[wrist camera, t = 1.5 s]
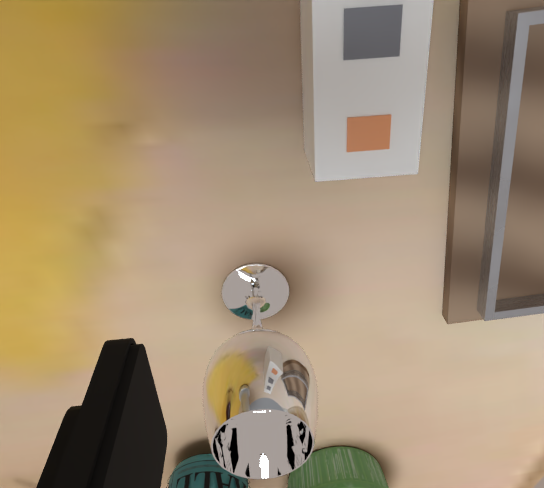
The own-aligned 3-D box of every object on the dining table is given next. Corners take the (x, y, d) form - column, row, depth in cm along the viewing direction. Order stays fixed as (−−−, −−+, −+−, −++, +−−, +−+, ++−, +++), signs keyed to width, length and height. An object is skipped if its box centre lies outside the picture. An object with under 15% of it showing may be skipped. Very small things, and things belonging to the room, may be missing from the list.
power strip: (294, -165, 21) (308, -198, 17) (409, -172, 22) (453, -207, 17) (303, 148, 28) (315, 182, 24) (390, 141, 28) (418, 174, 24)
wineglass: (317, 284, 33) (353, 434, 22) (262, 339, 35) (273, 501, 24) (247, 238, 31) (250, 379, 20) (194, 299, 33) (172, 456, 22)
